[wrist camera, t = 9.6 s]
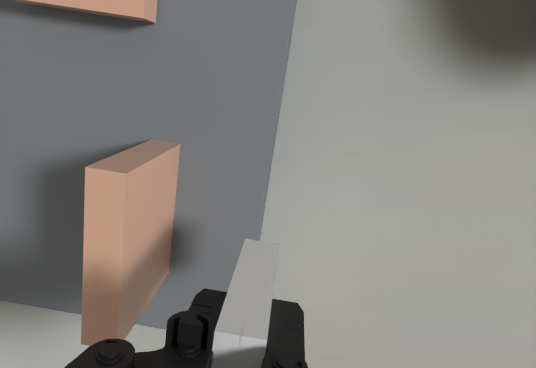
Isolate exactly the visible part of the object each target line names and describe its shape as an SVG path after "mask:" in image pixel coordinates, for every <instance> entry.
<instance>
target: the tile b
mask: <svg viewBox="0 0 536 368" xmlns="http://www.w3.org/2000/svg"><path fill="white" fill-rule="evenodd" d="M179 153H180V144H178V143H172V142H166V141H159V140H153V139H151V140H149V141H147V142H144V143H142V144H139V145H137V146H135V147H132V148H130V149H127V150H125V151H122V152H120V153H118V154H115V155H113V156H110V157H108V158H106V159H103V160H101V161H98V162H96V163H93V164H91V165H89V166H86V167H85V195H84V240H83V285H82V329H81V330H82V335H81V344H84V345H89V346H92V345H93V344H95V343H97V342H99V341H102V340H105V339H115V338H117V339H122V340H124V339H125V338H126V336H127V335H128V333H129V332H130V330H131V329H132V327H133V326H134V324H135V323H136V321H137V320H138V318H139V317H140V315H141V314H142V312H143V311H144V309H145V308H146V306H147V305H148V303H149V302H150V300H151V299H152V297H153V296H154V294H155V293H156V291H157V290H158V288H159V287H160V285H161V284H162V282H163V281H164V279H165V278H166V276H167V275H168V273H169V265H170V254H171V242H172V231H173V220H174V209H175V198H176V186H177V175H178V164H179Z"/></svg>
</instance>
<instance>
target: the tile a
mask: <svg viewBox="0 0 536 368" xmlns="http://www.w3.org/2000/svg"><path fill="white" fill-rule="evenodd" d="M15 1H18V2H22V3H28V4H34V5H41V6H48V7H54V8H61V9H67V10H74V11H80V12H87V13H93V14H100V15H107V16H113V17H120V18H126V19H133V20H139V21H146V22H152V23H156V14H157V0H15Z"/></svg>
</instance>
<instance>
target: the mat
mask: <svg viewBox="0 0 536 368" xmlns="http://www.w3.org/2000/svg"><path fill="white" fill-rule="evenodd" d="M296 3H297V0H157V14H156V23H152V22H146V21H139V20H133V19H126V18H120V17H113V16H107V15H100V14H93V13H87V12H80V11H74V10H67V9H61V8H54V7H48V6H41V5H34V4H28V3H22V2H18V1H15V0H0V300H4V301H9V302H15V303H20V304H26V305H32V306H37V307H43V308H48V309H54V310H60V311H65V312H71V313H76V314H82V285H83V240H84V195H85V167H86V166H89V165H91V164H93V163H96V162H98V161H101V160H103V159H106V158H108V157H110V156H113V155H115V154H118V153H120V152H122V151H125V150H127V149H130V148H132V147H135V146H137V145H139V144H142V143H144V142H147V141H149V140H151V139H153V140H159V141H166V142H172V143H178V144H180V153H179V164H178V175H177V186H176V198H175V209H174V220H173V231H172V242H171V254H170V265H169V273H168V275H167V276H166V278H165V279H164V281H163V282H162V284H161V285H160V287H159V288H158V290H157V291H156V293H155V294H154V296H153V297H152V299H151V300H150V302H149V303H148V305H147V306H146V308H145V309H144V311H143V312H142V314H141V315H140V317H139V318H138V320H137V321H136V323H135V324H138V325H144V326H149V327H155V328H160V329H166V330H167V320H168V319H169V318H170V317H171V316H172V315H174V314H176V313H178V312H181V311H187V310H188V309H189V307H190V305H191V303H192V301H193V299H194V297H195V295H196V294H197V293H199V292H200V291H201V290H203V289H204V288H206V289H211V290H217V291H223V292H228V289H229V286H230V283H231V280H232V277H233V274H234V271H235V268H236V265H237V262H238V259H239V256H240V253H241V250H242V247H243V244H244V241H245V239H251V240H257V241H260V234H261V228H262V221H263V215H264V208H265V202H266V196H267V189H268V183H269V176H270V170H271V163H272V157H273V151H274V144H275V138H276V131H277V125H278V118H279V112H280V106H281V99H282V93H283V86H284V80H285V73H286V67H287V61H288V54H289V48H290V41H291V35H292V29H293V22H294V16H295V9H296Z"/></svg>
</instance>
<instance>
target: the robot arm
mask: <svg viewBox="0 0 536 368" xmlns="http://www.w3.org/2000/svg"><path fill="white" fill-rule="evenodd" d="M278 245H279V244H275V243H269V242H263V241H257V240H251V239H245V241H244V244H243V247H242V250H241V253H240V256H239V259H238V262H237V265H236V268H235V271H234V274H233V277H232V280H231V283H230V286H229V289H228V292H223V291H217V290H211V289H206V288H204V289H203V290H201V291H200V292H199V293H197V294H196V295H195V297H194V299H193V301H192V303H191V305H190V307H189V309H188V310H187V311H181V312H178V313H176V314H174V315H172V316H171V317H170V318H169V319H168V320H167V331H166V343H165V346H164V348H162V349H159V350H156V351H150V352H138V353H135V349H134V347H133V345H132V344H131V343H129V342H128V341H126V340H122V339H117V338H115V339H105V340H102V341H99V342H97V343H95V344H93V345H92V346H90V347H89V348H87V349H86V350H85V351H84V352H83V353H81V354H80V355H79V356H78V357H77V358H75V359H74V360H73V361H72V362H71V363H69V364H68V365H67V366H66V367H65V368H308V366H307V363H306V362H305V351H304V312H303V310H302V309H301V307H300V306H299V304H298V303H294V302H288V301H282V300H276V299H272V296H273V287H274V279H275V271H276V262H277V254H278Z"/></svg>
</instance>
